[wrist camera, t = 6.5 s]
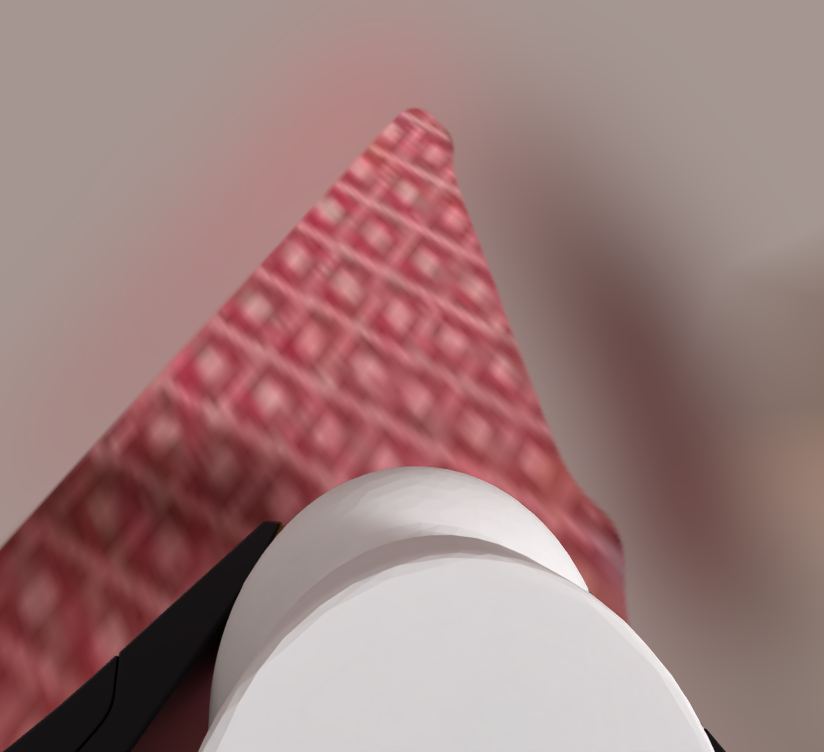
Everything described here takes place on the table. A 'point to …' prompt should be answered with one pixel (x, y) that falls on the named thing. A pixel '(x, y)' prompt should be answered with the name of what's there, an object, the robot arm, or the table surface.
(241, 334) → the table surface
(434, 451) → the table surface
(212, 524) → the table surface
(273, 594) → the supplement bottle
